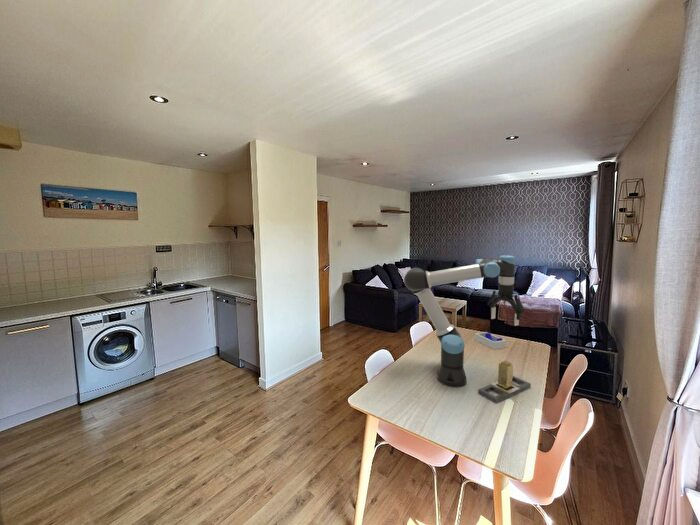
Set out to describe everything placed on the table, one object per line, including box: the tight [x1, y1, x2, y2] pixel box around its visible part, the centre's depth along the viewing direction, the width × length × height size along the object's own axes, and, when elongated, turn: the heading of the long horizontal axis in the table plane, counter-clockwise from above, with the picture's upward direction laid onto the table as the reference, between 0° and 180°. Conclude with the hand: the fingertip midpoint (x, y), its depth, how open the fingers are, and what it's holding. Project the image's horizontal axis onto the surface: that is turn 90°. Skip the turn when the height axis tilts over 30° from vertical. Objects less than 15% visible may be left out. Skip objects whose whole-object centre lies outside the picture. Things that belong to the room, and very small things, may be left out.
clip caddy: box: [474, 331, 507, 350], centre depth 208 cm, size 10×18×5 cm, turn 19°
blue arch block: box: [485, 332, 503, 342], centre depth 208 cm, size 12×4×6 cm, turn 19°
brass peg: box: [497, 360, 514, 391], centre depth 148 cm, size 5×5×15 cm
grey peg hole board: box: [477, 375, 532, 404], centre depth 148 cm, size 28×10×2 cm, turn 119°
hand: (504, 321), depth 161 cm, fingers open, 13 cm apart
